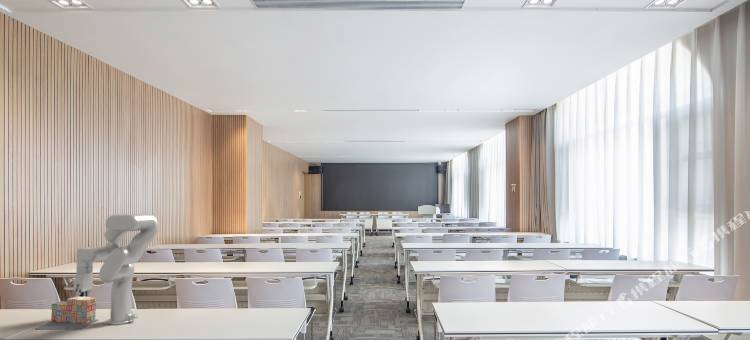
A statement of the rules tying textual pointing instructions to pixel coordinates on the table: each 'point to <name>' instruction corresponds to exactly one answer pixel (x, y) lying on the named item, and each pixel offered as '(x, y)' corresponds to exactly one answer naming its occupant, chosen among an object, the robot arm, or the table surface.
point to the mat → (64, 325)
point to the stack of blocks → (75, 310)
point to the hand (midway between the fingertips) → (83, 304)
